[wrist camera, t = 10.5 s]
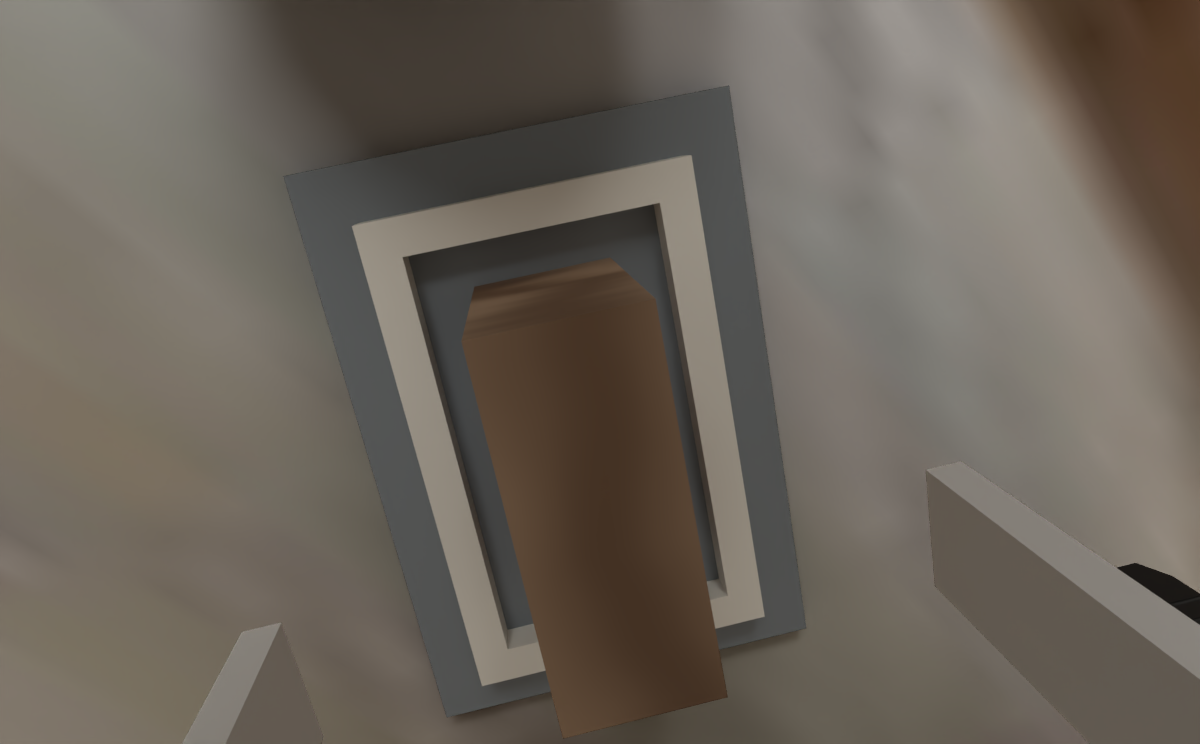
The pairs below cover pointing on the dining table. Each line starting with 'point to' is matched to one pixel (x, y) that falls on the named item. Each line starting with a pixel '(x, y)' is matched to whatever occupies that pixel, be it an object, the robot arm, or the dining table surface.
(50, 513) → the dining table surface
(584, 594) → the walnut block
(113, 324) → the dining table surface
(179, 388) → the dining table surface
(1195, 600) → the robot arm
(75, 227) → the dining table surface
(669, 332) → the grey flat frame
